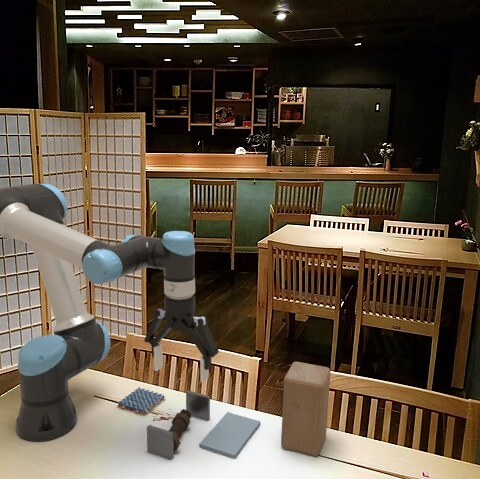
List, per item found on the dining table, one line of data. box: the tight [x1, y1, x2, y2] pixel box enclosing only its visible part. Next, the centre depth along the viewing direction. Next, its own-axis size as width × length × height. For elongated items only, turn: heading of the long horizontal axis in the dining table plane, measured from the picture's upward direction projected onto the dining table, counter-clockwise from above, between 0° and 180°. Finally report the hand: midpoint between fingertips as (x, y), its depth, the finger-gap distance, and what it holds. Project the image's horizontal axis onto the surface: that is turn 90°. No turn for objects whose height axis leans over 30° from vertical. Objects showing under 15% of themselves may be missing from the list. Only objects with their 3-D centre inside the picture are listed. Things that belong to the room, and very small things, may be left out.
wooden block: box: [280, 361, 331, 457], centre depth 126 cm, size 10×10×20 cm
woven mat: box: [116, 386, 166, 417], centre depth 145 cm, size 10×11×2 cm
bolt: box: [168, 408, 192, 454], centre depth 130 cm, size 6×5×15 cm
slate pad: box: [198, 411, 261, 460], centre depth 130 cm, size 10×16×1 cm, turn 155°
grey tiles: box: [146, 389, 211, 461], centre depth 130 cm, size 7×19×7 cm, turn 155°
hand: (181, 374), depth 126 cm, fingers open, 13 cm apart
